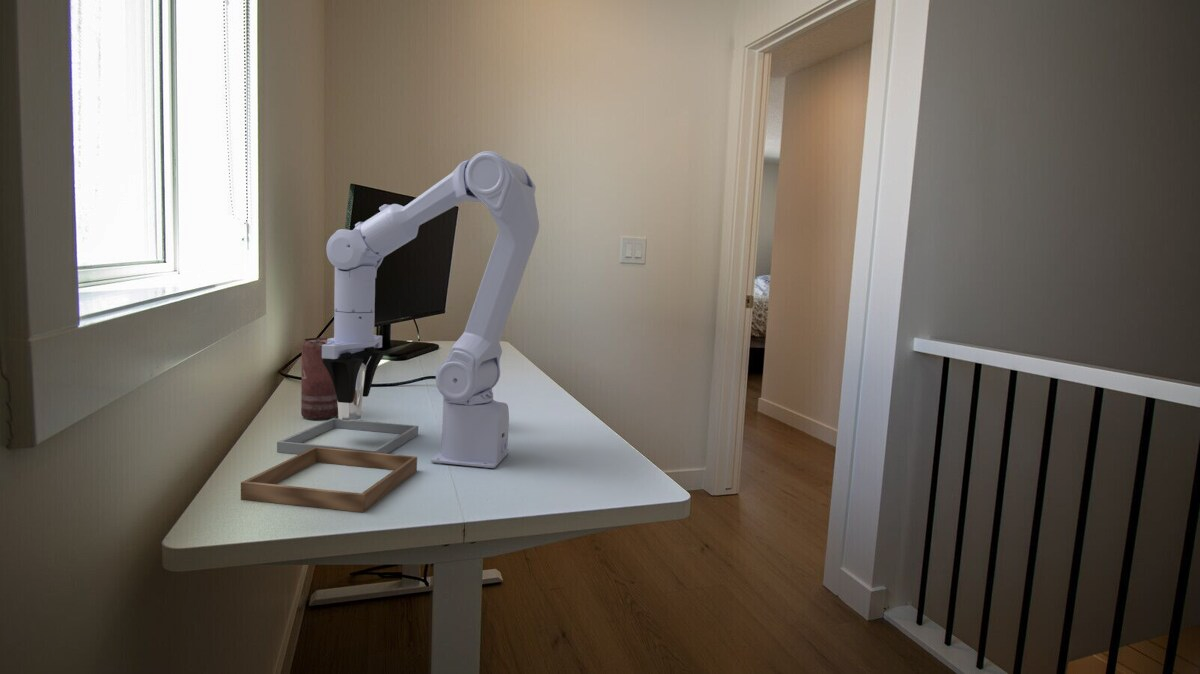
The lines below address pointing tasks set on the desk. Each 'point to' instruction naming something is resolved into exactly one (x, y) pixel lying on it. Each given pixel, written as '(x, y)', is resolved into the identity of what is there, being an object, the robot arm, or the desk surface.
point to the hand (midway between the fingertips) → (353, 399)
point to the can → (316, 383)
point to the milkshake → (354, 409)
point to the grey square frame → (297, 447)
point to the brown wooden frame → (268, 491)
